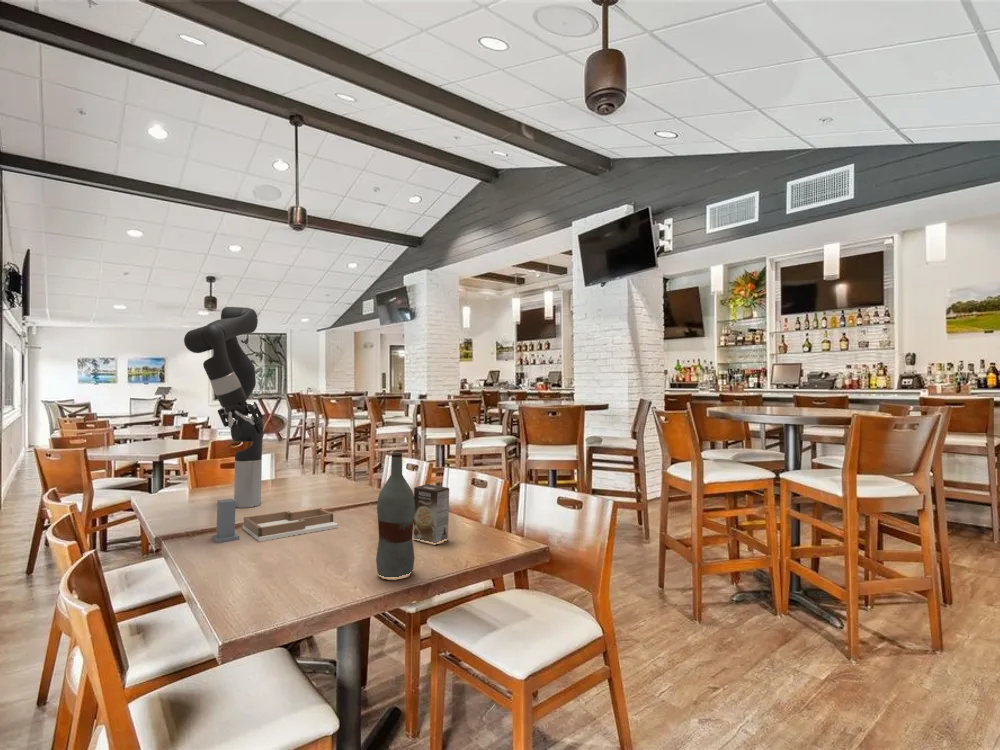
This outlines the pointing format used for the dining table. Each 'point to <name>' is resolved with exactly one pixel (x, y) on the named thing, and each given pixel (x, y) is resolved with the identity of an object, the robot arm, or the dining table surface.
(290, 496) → the dining table surface
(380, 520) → the bottle
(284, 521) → the keyhole guide board
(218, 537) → the slate keyhole peg
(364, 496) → the dining table surface
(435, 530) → the coffee box
